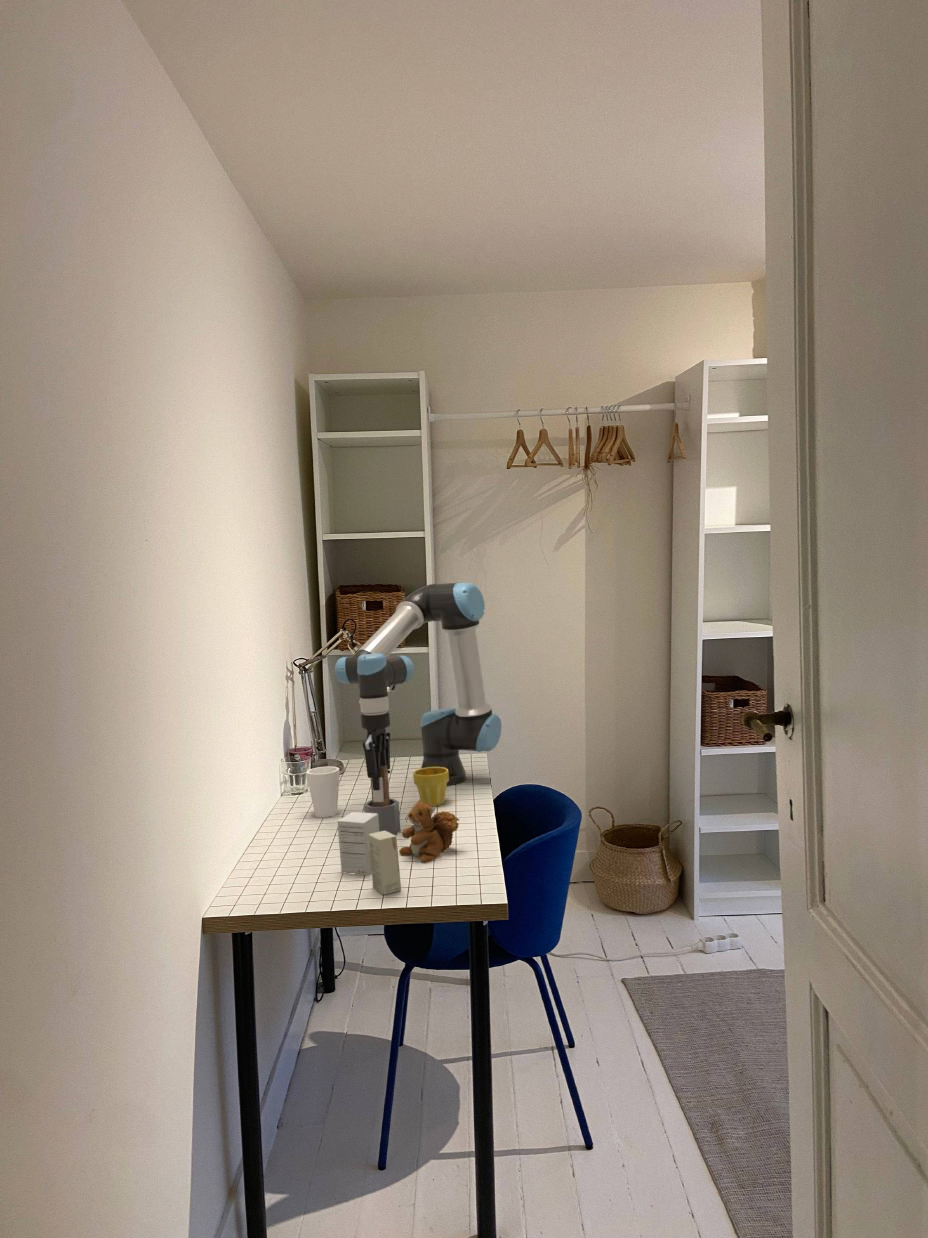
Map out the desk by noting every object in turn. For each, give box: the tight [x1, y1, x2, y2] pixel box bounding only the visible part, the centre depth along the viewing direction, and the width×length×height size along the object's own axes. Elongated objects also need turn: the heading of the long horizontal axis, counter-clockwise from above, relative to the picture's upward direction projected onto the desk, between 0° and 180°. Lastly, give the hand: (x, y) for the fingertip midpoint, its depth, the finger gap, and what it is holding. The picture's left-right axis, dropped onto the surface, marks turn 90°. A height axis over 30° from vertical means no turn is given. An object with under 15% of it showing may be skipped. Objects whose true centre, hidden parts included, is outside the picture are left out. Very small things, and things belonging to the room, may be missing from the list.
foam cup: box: [306, 766, 341, 819], centre depth 256 cm, size 10×9×13 cm
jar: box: [363, 798, 402, 836], centre depth 235 cm, size 9×9×8 cm
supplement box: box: [336, 811, 379, 876], centre depth 207 cm, size 7×7×13 cm
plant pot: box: [412, 767, 449, 807], centre depth 260 cm, size 10×10×10 cm
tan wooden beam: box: [370, 765, 391, 807], centre depth 235 cm, size 2×4×16 cm, turn 72°
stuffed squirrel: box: [398, 800, 461, 864], centre depth 215 cm, size 10×14×13 cm
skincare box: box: [368, 831, 402, 895], centre depth 194 cm, size 6×4×12 cm
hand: (381, 799), depth 235 cm, fingers closed on tan wooden beam, 2 cm apart
